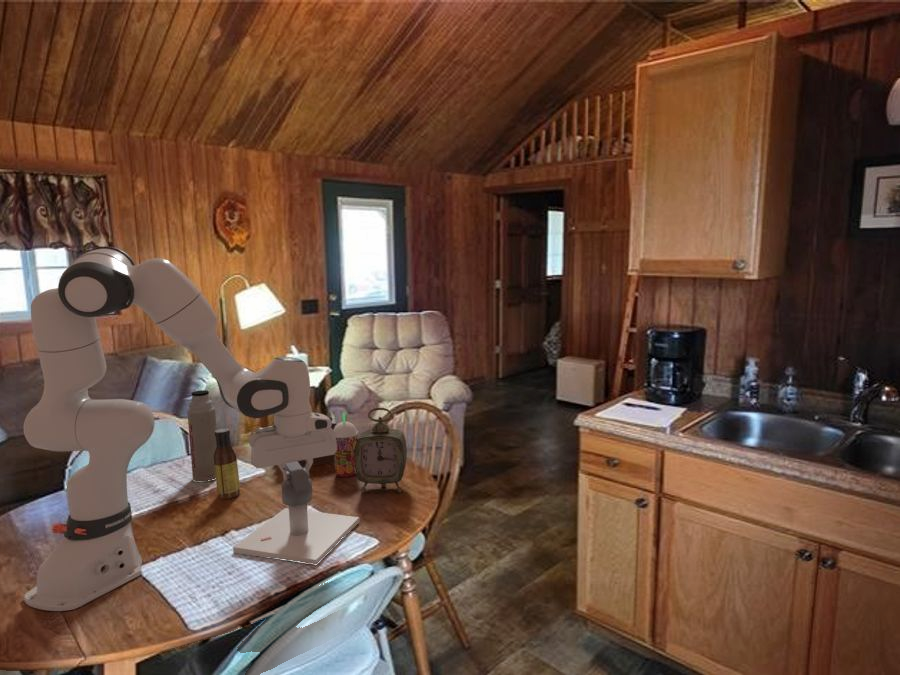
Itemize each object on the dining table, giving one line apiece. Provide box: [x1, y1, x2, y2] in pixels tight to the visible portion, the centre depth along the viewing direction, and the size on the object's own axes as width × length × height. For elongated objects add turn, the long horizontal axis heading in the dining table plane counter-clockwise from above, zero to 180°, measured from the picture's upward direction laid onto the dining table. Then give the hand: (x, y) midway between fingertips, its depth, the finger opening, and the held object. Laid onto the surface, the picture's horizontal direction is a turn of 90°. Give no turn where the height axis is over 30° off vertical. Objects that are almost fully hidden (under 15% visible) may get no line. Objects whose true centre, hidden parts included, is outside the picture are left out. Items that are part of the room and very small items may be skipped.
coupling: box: [280, 461, 314, 507], centre depth 141 cm, size 12×7×8 cm, turn 28°
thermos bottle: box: [186, 389, 218, 482], centre depth 181 cm, size 8×8×28 cm
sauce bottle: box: [214, 427, 241, 500], centre depth 168 cm, size 7×6×20 cm
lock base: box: [232, 503, 360, 564], centre depth 143 cm, size 22×22×10 cm
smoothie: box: [333, 412, 359, 478], centre depth 183 cm, size 8×8×20 cm
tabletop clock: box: [354, 407, 408, 493], centre depth 170 cm, size 14×9×25 cm, turn 88°
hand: (296, 477), depth 141 cm, fingers closed on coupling, 3 cm apart
